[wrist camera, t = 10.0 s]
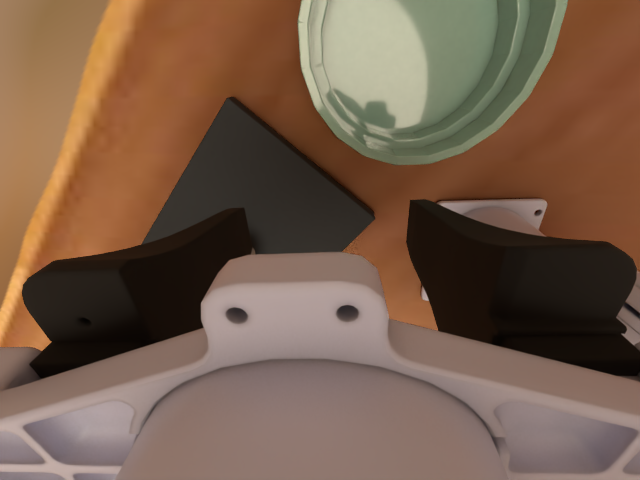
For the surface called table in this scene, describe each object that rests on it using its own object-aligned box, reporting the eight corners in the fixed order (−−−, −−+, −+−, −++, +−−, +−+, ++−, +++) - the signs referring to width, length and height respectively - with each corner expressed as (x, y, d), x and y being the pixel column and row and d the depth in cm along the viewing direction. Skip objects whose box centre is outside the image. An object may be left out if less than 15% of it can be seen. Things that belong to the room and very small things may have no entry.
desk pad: (241, 342, 31) (238, 352, 30) (125, 277, 28) (117, 285, 27) (374, 212, 23) (375, 218, 22) (232, 95, 20) (227, 97, 19)
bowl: (487, 144, 20) (522, 161, 16) (313, 150, 21) (307, 168, 17) (543, -110, 14) (620, -178, 10) (299, -86, 15) (285, -141, 11)
